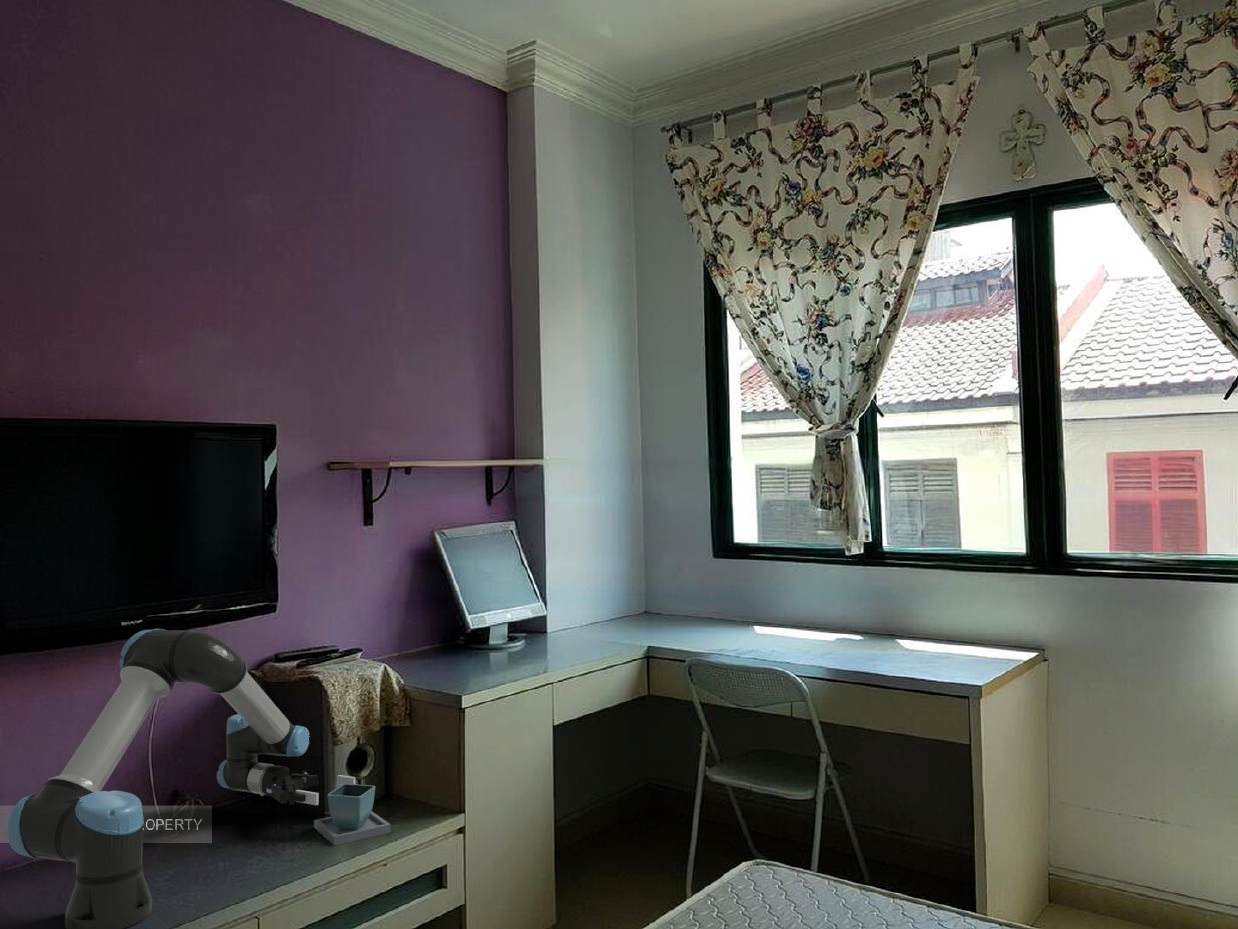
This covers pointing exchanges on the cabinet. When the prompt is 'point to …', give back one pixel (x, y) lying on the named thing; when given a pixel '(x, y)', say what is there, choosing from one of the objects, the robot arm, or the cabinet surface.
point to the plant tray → (341, 836)
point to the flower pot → (351, 805)
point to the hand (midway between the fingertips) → (336, 791)
